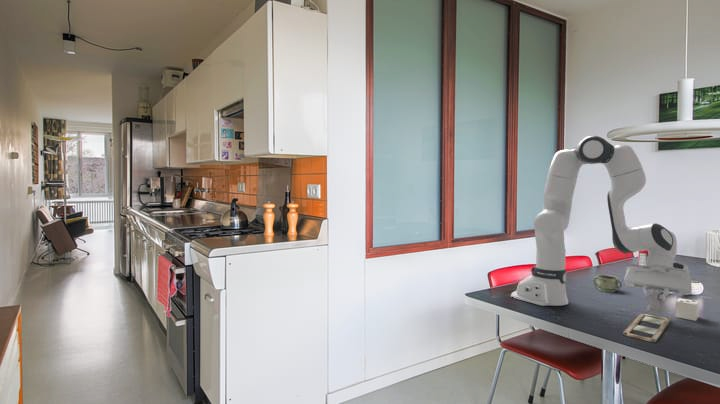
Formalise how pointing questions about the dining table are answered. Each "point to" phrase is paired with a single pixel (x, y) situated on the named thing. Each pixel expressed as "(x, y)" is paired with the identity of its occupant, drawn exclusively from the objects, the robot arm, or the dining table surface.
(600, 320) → the dining table surface
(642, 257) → the soda can
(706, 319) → the dining table surface
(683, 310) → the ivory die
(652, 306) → the rook chess piece
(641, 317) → the track board
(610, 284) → the vessel
